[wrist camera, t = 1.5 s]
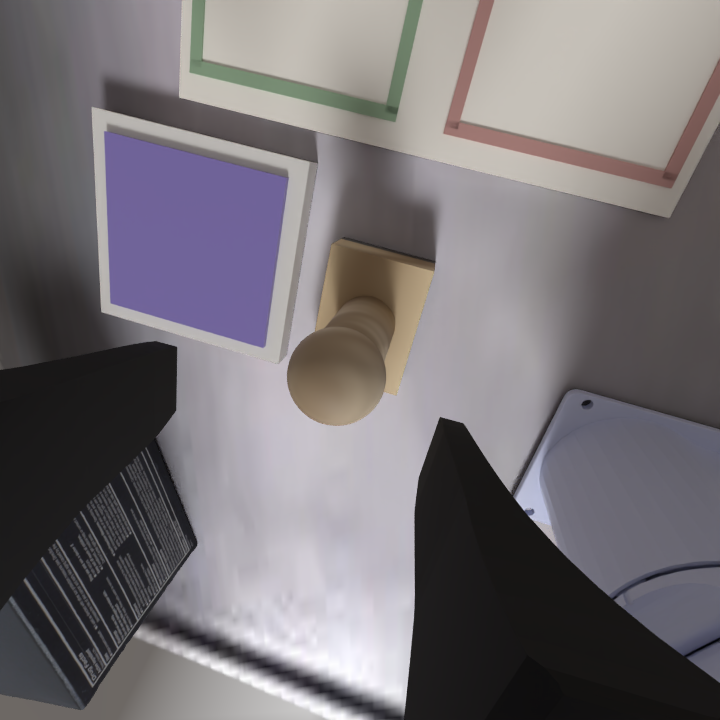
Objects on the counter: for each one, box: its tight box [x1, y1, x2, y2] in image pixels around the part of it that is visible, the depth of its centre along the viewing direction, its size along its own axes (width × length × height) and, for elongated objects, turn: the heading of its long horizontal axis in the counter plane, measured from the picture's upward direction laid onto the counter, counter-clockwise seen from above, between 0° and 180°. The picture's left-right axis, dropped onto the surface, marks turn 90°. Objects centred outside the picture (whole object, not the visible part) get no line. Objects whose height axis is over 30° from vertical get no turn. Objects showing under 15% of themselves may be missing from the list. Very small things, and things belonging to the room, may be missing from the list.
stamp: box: [287, 237, 435, 426], centre depth 16 cm, size 4×6×9 cm
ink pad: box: [92, 107, 318, 364], centre depth 20 cm, size 10×10×2 cm
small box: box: [0, 440, 197, 710], centre depth 24 cm, size 11×6×10 cm, turn 10°
